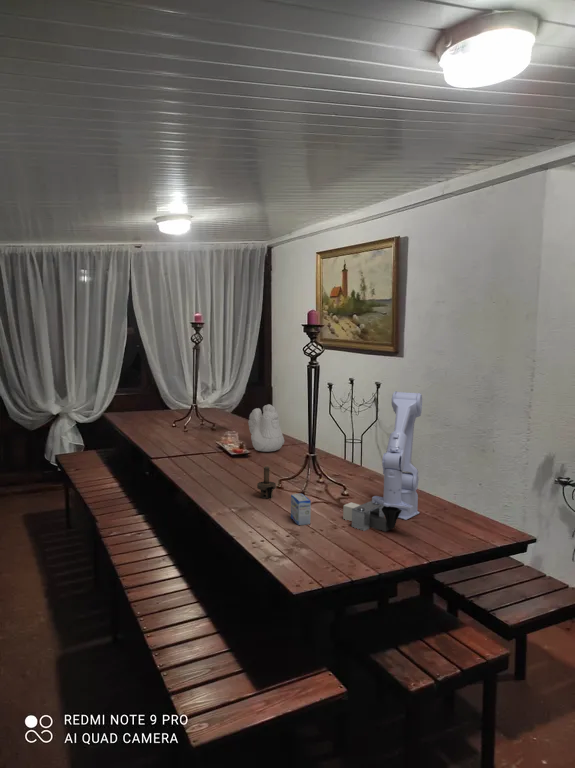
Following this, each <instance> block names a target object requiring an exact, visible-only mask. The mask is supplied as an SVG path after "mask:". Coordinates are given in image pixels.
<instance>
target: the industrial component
mask: <svg viewBox="0 0 575 768" xmlns="http://www.w3.org/2000/svg"><path fill="white" fill-rule="evenodd" d="M256 485H257V487H256V488H257V489H258V490H260V498H262V499H264V498H267V499H271V498H272V499H273V492H274V490H275V489H276V488H277V484H276V482H274V481H270V466H264V467H263V481H259V482H258V483H257V484H256Z"/></svg>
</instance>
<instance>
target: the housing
mask: <svg viewBox="0 0 575 768" xmlns="http://www.w3.org/2000/svg"><path fill="white" fill-rule="evenodd" d="M359 505H360V506H358V507H355V508H353V509H352V522H351V528H353V527H354V528H353V529H356V528H357V530H359V529H360V530H359V531H362V530H363V532H365V531H368V530H369V529H370V527H369V526H370V514H373V515H376V516H380V517H383V518H385V515H384V513H383V511H382V508H383V507H384V506H383V505H382V504H378V503H372V500H370V501H367V502H365V503H363V504H359Z"/></svg>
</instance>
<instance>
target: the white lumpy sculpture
mask: <svg viewBox="0 0 575 768" xmlns="http://www.w3.org/2000/svg"><path fill="white" fill-rule="evenodd" d="M262 412H263V413H262ZM247 423H248V428H249V433H250V434H251V435H250V440H251V443H252V446H253V448H254V449H255V450H256V451H258V452H268V453H269V452H275V451H278V450H280V449H281V448H282V446H283V445H284V444H285V438H284V435H283V431H282V428H281V425H280V416H279V413H278V411H277V410H276V408H275V406H273V405H272V404H269V403H268V404H266V405H264V406H263V407H262V410H261V408H259V407H258V408H257V407H256V408H254V409H253V410H252V411H251V412H250V414H249V417H248V422H247Z"/></svg>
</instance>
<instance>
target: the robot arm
mask: <svg viewBox="0 0 575 768" xmlns="http://www.w3.org/2000/svg"><path fill="white" fill-rule="evenodd" d="M391 407H392V409H393V413H394V414H395V419H394V429H393V431H392V432H391V433H390V434H389V437H388V441H387V448H386V452H384V453H383V455H382V461H381V462H382V464H381V465H382V475H384V477H383V496H378V495H374V496H372V497H371V501H372V503H378V504H382V505H383V506H384V507H383V508H382V511H383V513H384V518H386V521H387V525H388V529H390V530H394V529H395V527H396V524H397V521H398V519H401V520H405V521H407V520H408V519H411V518H413V517H415V516H417V515H419V514H420V511H419V510H418V504H419V502H418V501H419V500H418V499H419V495H418V493H417V490H418V489H419V480H420V479H419V478H420V477H419V470H418V468H417V467H415V465H414V464H412V454H413V445H414V443H413V442H414V433H415V430H414V429H415V422H416V420H417V418H419V417H421V415H422V409H423V408H422V407H423V395H422V394H421V392H404V391H395V390H394V392H393V393H392V395H391Z"/></svg>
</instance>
